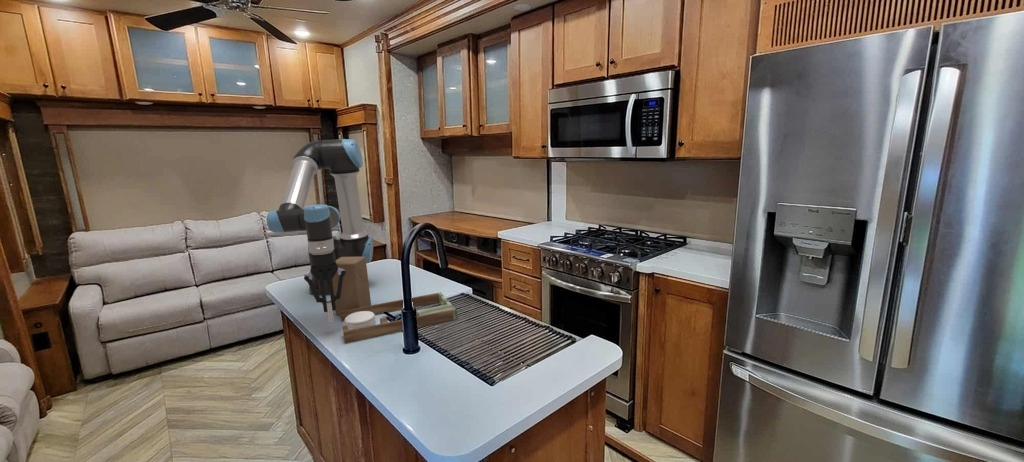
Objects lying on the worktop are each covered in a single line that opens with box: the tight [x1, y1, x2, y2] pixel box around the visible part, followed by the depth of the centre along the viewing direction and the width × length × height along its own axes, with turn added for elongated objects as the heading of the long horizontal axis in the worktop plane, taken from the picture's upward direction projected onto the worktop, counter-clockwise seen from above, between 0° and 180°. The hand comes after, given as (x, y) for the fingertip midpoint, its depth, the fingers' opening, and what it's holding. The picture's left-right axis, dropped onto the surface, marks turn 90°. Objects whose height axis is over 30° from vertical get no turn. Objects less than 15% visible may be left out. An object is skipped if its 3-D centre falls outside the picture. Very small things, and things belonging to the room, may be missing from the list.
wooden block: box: [332, 257, 372, 316], centre depth 161 cm, size 10×10×20 cm
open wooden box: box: [339, 292, 458, 344], centre depth 151 cm, size 21×37×4 cm, turn 115°
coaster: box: [344, 311, 376, 330], centre depth 149 cm, size 10×10×4 cm
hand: (331, 320), depth 143 cm, fingers closed
